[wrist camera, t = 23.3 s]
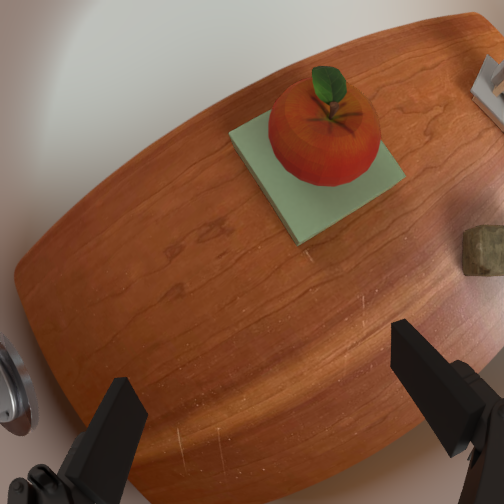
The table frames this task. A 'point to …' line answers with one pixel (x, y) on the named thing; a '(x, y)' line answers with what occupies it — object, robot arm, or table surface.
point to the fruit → (324, 129)
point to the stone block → (483, 251)
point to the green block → (305, 194)
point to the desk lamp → (490, 90)
